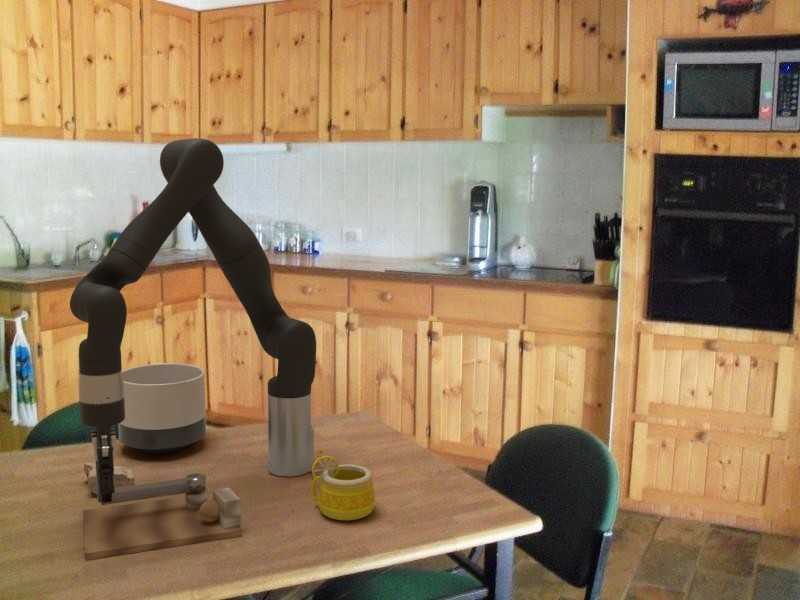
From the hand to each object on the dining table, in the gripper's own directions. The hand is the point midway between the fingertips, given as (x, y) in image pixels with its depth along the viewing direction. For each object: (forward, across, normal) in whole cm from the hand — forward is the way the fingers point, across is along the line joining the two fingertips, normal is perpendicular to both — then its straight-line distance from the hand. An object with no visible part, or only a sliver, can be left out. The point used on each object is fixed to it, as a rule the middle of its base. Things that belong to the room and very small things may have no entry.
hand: (105, 488), depth 146 cm
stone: (+7, +18, 0) cm, 20 cm away
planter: (+7, +38, -14) cm, 42 cm away
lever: (+3, 0, -8) cm, 9 cm away
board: (+7, -4, -9) cm, 12 cm away
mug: (+7, -8, -42) cm, 43 cm away
